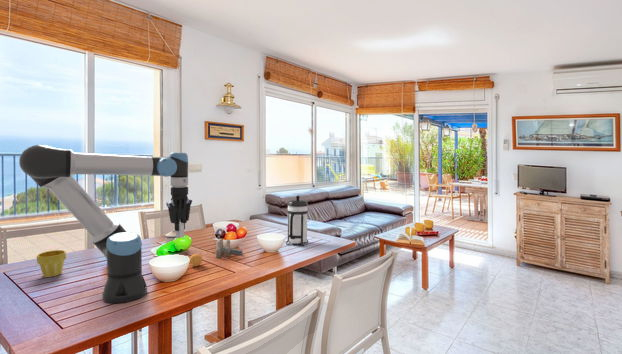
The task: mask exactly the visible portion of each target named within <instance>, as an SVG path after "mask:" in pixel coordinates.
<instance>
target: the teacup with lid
mask: <svg viewBox="0 0 622 354" xmlns="http://www.w3.org/2000/svg"><path fill="white" fill-rule="evenodd" d="M164 238H165V244H166V243H168V242H170V241H173V240H174V239H175V238H176V231H175V229H172V230H171V231H169V232H168V233H166V234H165V235H164Z"/></svg>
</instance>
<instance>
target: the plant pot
mask: <svg viewBox="0 0 622 354" xmlns="http://www.w3.org/2000/svg"><path fill="white" fill-rule="evenodd" d="M66 259H67V254H66V250H63V249H56V250H48V251H43V252H41V253H39V254H37V255H36V263H37V264H38V265H39V268H40V270H41V273H42V277H44V278H53V277H52V276H54V277H57V275H58V276H60V275H62V273H63V270H64V262H65V260H66ZM59 274H60V275H59Z"/></svg>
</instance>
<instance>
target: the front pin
mask: <svg viewBox="0 0 622 354" xmlns="http://www.w3.org/2000/svg"><path fill="white" fill-rule="evenodd" d="M215 245H216V246H215V249H216V250H215V253H216V254H215V255H216V257H215V258H216V259H221V258H222V255H221V241H218V240H217V241H215Z"/></svg>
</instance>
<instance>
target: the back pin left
mask: <svg viewBox="0 0 622 354" xmlns="http://www.w3.org/2000/svg"><path fill="white" fill-rule="evenodd" d="M217 241H221V256H223V255H224V252H223V247H224V239H223V238H218V240H217Z"/></svg>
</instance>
